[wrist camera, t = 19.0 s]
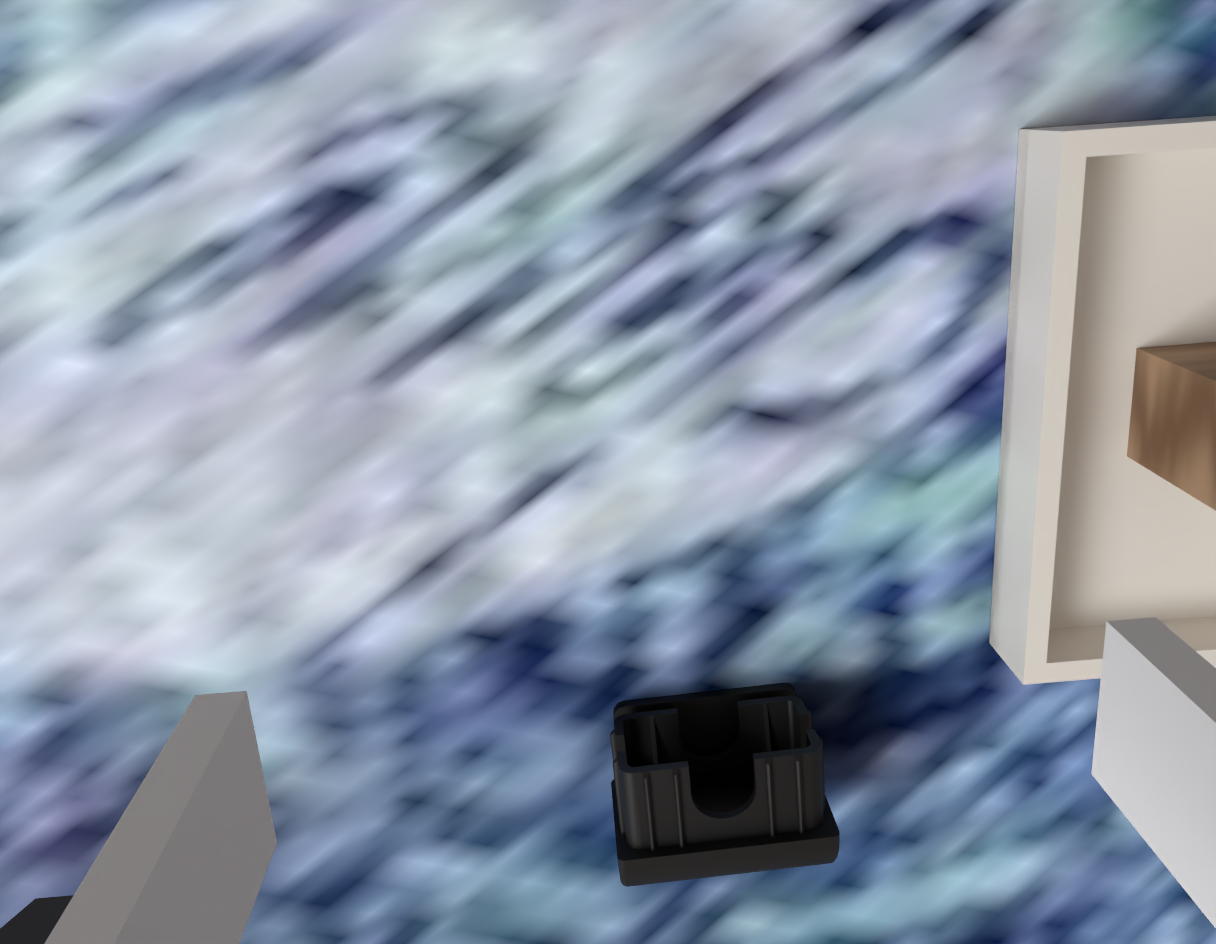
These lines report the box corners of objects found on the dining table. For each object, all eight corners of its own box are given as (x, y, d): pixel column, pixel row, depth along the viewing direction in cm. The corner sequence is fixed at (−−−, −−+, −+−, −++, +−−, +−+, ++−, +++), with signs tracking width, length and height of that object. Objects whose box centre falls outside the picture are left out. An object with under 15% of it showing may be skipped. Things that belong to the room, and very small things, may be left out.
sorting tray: (1019, 129, 44) (1062, 131, 41) (1395, 102, 45) (1473, 102, 41) (989, 642, 52) (1023, 684, 49) (1309, 616, 53) (1367, 656, 49)
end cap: (616, 822, 55) (624, 916, 48) (602, 702, 53) (608, 784, 46) (809, 800, 55) (842, 891, 49) (804, 679, 53) (838, 758, 46)
